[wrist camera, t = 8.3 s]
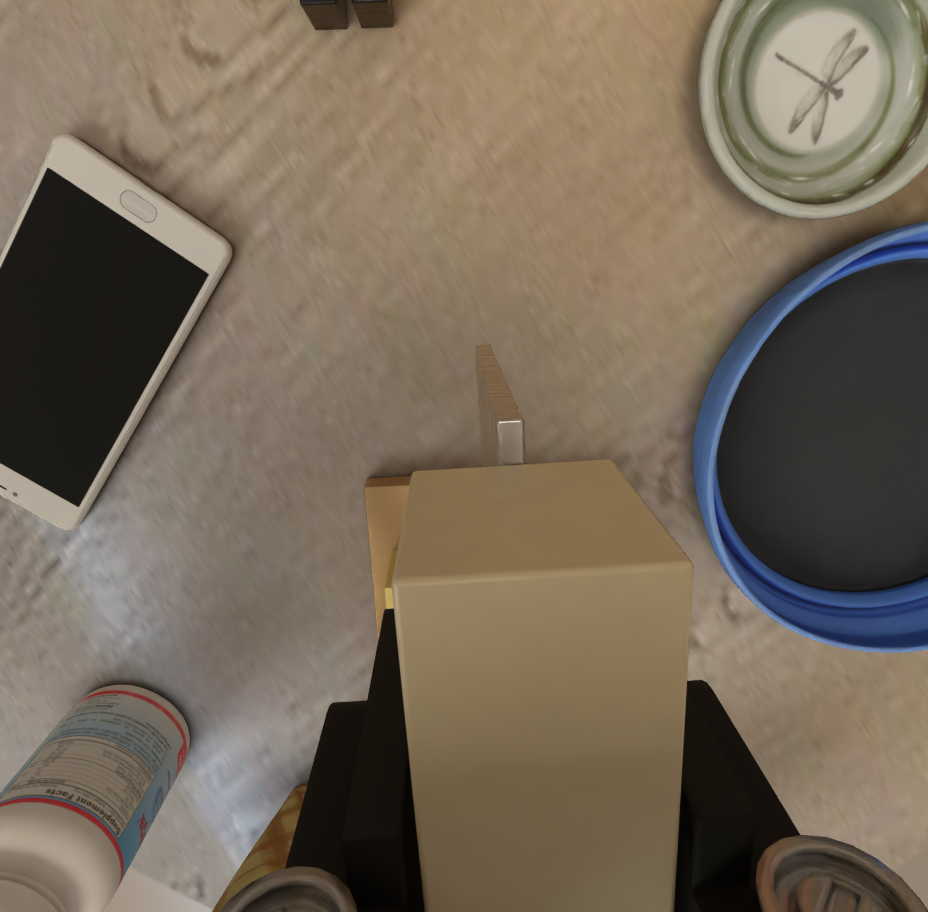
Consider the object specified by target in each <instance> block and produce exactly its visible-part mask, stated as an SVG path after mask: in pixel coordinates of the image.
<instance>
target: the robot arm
mask: <svg viewBox="0 0 928 912" xmlns="http://www.w3.org/2000/svg"><path fill="white" fill-rule="evenodd" d="M220 912H425V909H424V900H423V890H422V880H421V870H420V860H419V850H418V841H417V831H416V821H415V811H414V801H413V791H412V782H411V772H410V762H409V752H408V742H407V732H406V723H405V713H404V703H403V693H402V683H401V673H400V664H399V654H398V644H397V634H396V624H395V614H394V608H392V609H385V610H384V613H383V619H382V624H381V630H380V635H379V640H378V646H377V651H376V656H375V662H374V667H373V672H372V678H371V683H370V688H369V694H368V699H367V701H352V702H336V703H332V704H331V705H330V706H329V709H328V711H327V714H326V718H325V722H324V725H323V729H322V733H321V736H320V740H319V744H318V748H317V751H316V755H315V759H314V762H313V766H312V770H311V773H310V777H309V781H308V785H307V788H306V792H305V796H304V799H303V803H302V807H301V810H300V814H299V818H298V822H297V825H296V829H295V833H294V836H293V840H292V844H291V847H290V851H289V855H288V859H287V862H286V866H285V869H282V870H277V871H273V872H271V873H269V874H267V875H265V876H263V877H261V878H259V879H257V880H255V881H253V882H251V883H249V884H248V885H247V886H246V887H244V888H243V889H242V890H241V891H239V892H238V893H237V894H236V895H234V896H233V897H232V898H231V899H229V901H228V902H227V903H226V904H225V906H224V907H223V908H222V909H221V911H220ZM674 912H928V910H927V908H926V907H925V905H924V904H923V902H922V901H921V900H920V898H919V897H918V896H917V895H916V894H915V893H914V892H913V890H912V889H911V888H910V887H909V886H908V885H907V884H906V882H904V880H903V879H902V878H901V877H900V876H899V875H897V874H896V873H895V872H893V871H892V870H891V869H890V868H888V867H887V866H886V865H885V864H883V863H882V862H881V861H879V860H878V859H877V858H875V857H873V856H871V855H869V854H867V853H865V852H863V851H862V850H860V849H858V848H856V847H854V846H852V845H849V844H846V843H843V842H840V841H837V840H834V839H830V838H827V837H820V836H809V835H800V833H799V832H798V830H797V829H796V827H795V825H794V824H793V822H792V820H791V819H790V817H789V815H788V814H787V812H786V810H785V809H784V807H783V805H782V804H781V802H780V800H779V799H778V797H777V795H776V794H775V792H774V791H773V789H772V787H771V786H770V784H769V782H768V781H767V779H766V777H765V776H764V774H763V772H762V771H761V769H760V767H759V766H758V764H757V762H756V761H755V759H754V757H753V756H752V754H751V753H750V751H749V749H748V748H747V746H746V744H745V743H744V741H743V739H742V738H741V736H740V734H739V733H738V731H737V729H736V728H735V726H734V724H733V723H732V721H731V719H730V718H729V716H728V715H727V713H726V711H725V710H724V708H723V706H722V705H721V703H720V701H719V700H718V698H717V696H716V695H715V693H714V691H713V690H712V689H711V687H710V686H709V685H708V683H707V682H705V681H703V680H694V681H687V690H686V708H685V725H684V743H683V761H682V778H681V796H680V813H679V831H678V849H677V866H676V884H675V901H674Z"/></svg>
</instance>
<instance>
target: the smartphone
mask: <svg viewBox="0 0 928 912" xmlns="http://www.w3.org/2000/svg"><path fill="white" fill-rule="evenodd" d="M231 258H232V248H231V246H230V244H229V242H228V241H227V240H226V239H225V238H224V237H222V236H221V235H219V234H218V233H216V232H215V231H213V230H212V229H211V228H209V227H208V226H206V225H205V224H203V223H202V222H200V221H199V220H197V219H196V218H194V217H193V216H191V215H190V214H188V213H187V212H185V211H184V210H182V209H181V208H180V207H178V206H177V205H175V204H174V203H172V202H171V201H169V200H168V199H166V198H165V197H163V196H162V195H160V194H159V193H157V192H156V191H154V190H153V189H151V188H150V187H148V186H147V185H145V184H144V183H143V182H141V181H140V180H138V179H137V178H135V177H134V176H132V175H131V174H129V173H128V172H126V171H125V170H124V169H122V168H121V167H119V166H118V165H116V164H115V163H113V162H112V161H110V160H109V159H107V158H106V157H104V156H103V155H101V154H100V153H98V152H97V151H96V150H94V149H93V148H91V147H90V146H88V145H87V144H85V143H84V142H82V141H81V140H79V139H78V138H76V137H75V136H73V135H70V134H60V135H58V136H56V137H55V138H54V139H53V141H52V143H51V145H50V148H49V150H48V152H47V154H46V156H45V158H44V160H43V162H42V165H41V167H40V169H39V171H38V173H37V175H36V177H35V180H34V182H33V184H32V186H31V188H30V190H29V192H28V195H27V197H26V199H25V201H24V203H23V205H22V207H21V210H20V212H19V214H18V216H17V218H16V220H15V222H14V225H13V227H12V229H11V231H10V233H9V235H8V237H7V240H6V242H5V244H4V246H3V248H2V250H1V253H0V495H1V496H3V497H4V498H6V499H8V500H10V501H12V502H14V503H15V504H17V505H19V506H21V507H23V508H24V509H26V510H28V511H30V512H32V513H33V514H35V515H37V516H39V517H41V518H42V519H44V520H46V521H48V522H50V523H51V524H53V525H55V526H57V527H59V528H61V529H63V530H73V529H75V528H77V527H79V526H80V525H81V524H82V522H83V520H84V518H85V517H86V515H87V513H88V511H89V509H90V508H91V506H92V504H93V502H94V501H95V499H96V497H97V495H98V494H99V492H100V490H101V488H102V487H103V485H104V483H105V481H106V479H107V478H108V476H109V474H110V472H111V471H112V469H113V467H114V465H115V464H116V462H117V460H118V458H119V457H120V455H121V453H122V451H123V449H124V448H125V446H126V444H127V442H128V441H129V439H130V437H131V435H132V434H133V432H134V430H135V428H136V427H137V425H138V423H139V421H140V419H141V418H142V416H143V414H144V412H145V411H146V409H147V407H148V405H149V404H150V402H151V400H152V398H153V396H154V395H155V393H156V391H157V389H158V388H159V386H160V384H161V382H162V381H163V379H164V377H165V375H166V374H167V372H168V370H169V368H170V366H171V365H172V363H173V361H174V359H175V358H176V356H177V354H178V352H179V351H180V349H181V347H182V345H183V343H184V342H185V340H186V338H187V336H188V335H189V333H190V331H191V329H192V328H193V326H194V324H195V322H196V321H197V319H198V317H199V315H200V313H201V312H202V310H203V308H204V306H205V305H206V303H207V301H208V299H209V298H210V296H211V294H212V292H213V290H214V289H215V287H216V285H217V283H218V282H219V280H220V278H221V276H222V275H223V273H224V271H225V269H226V268H227V265H228V264H229V262H230V260H231Z"/></svg>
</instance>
